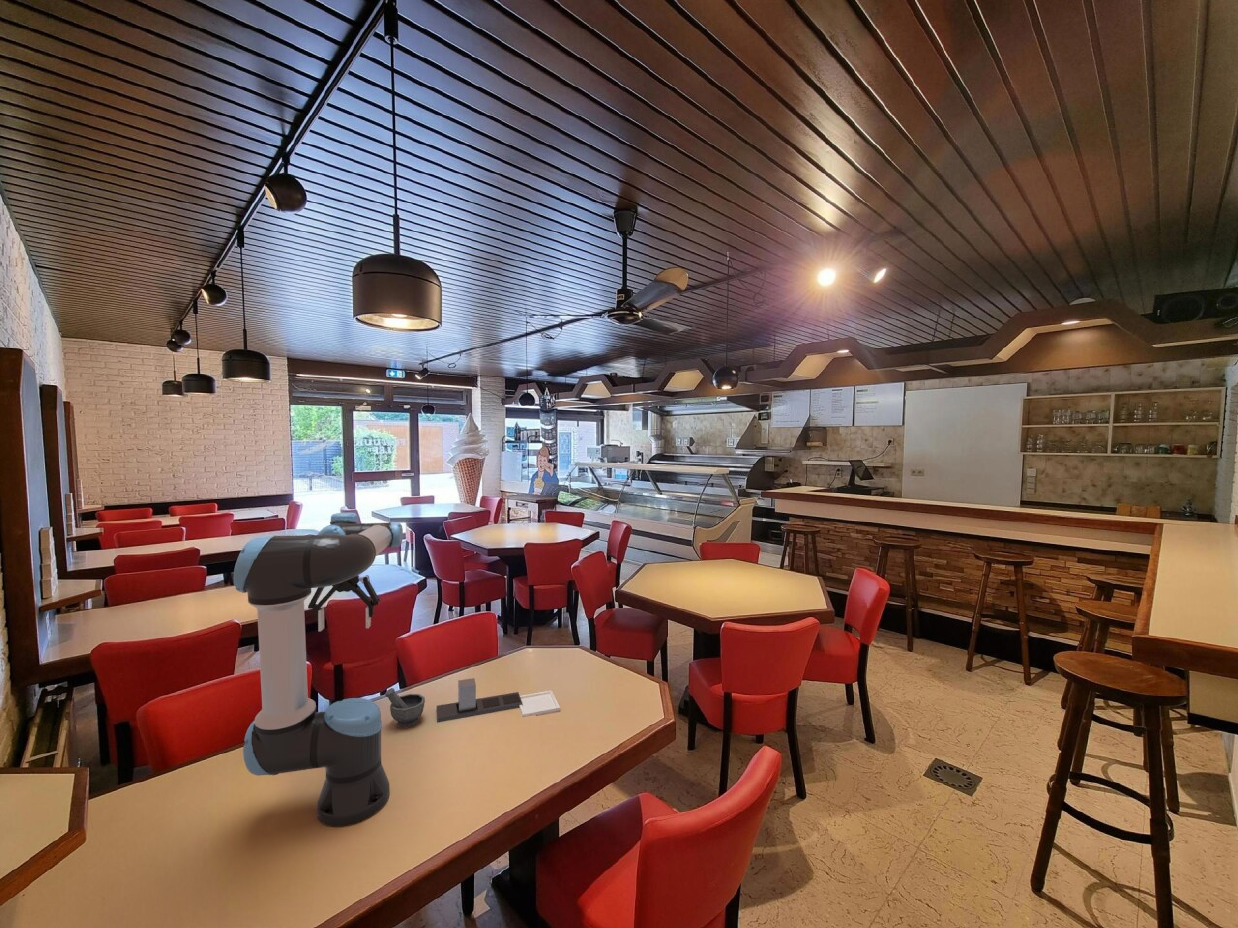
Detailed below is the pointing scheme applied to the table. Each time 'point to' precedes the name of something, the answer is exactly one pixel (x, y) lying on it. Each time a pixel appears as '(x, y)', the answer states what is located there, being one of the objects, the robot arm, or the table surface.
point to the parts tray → (539, 704)
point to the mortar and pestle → (405, 708)
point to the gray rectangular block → (466, 695)
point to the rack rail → (480, 707)
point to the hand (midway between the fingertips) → (345, 628)
